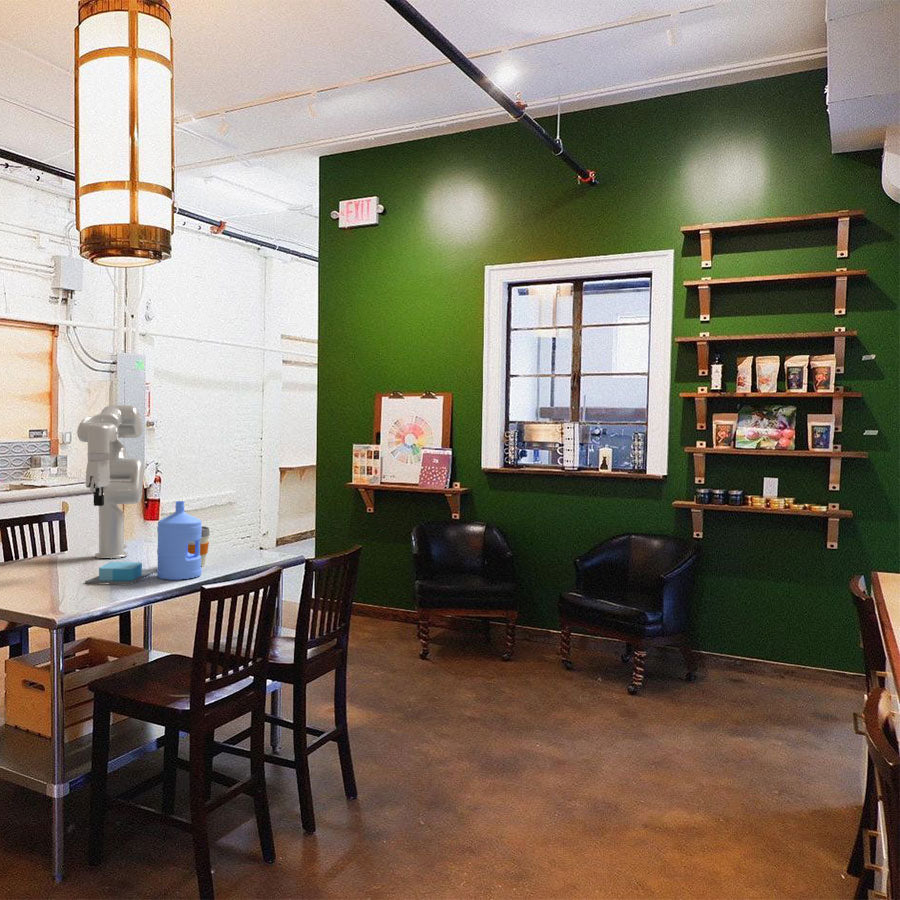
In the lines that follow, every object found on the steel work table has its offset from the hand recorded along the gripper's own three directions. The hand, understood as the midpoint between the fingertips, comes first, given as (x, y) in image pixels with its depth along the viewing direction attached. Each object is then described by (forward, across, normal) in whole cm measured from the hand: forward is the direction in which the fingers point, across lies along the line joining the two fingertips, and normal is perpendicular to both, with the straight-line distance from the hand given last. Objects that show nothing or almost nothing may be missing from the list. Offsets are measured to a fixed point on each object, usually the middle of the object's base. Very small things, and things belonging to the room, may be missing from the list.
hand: (98, 505), depth 290 cm
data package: (+22, +7, +14) cm, 27 cm away
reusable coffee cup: (+26, -15, +30) cm, 43 cm away
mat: (+25, +10, +14) cm, 30 cm away
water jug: (+25, +5, +33) cm, 42 cm away
